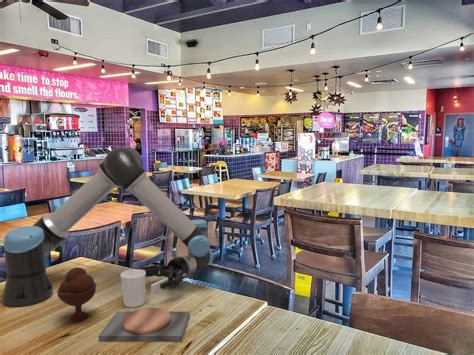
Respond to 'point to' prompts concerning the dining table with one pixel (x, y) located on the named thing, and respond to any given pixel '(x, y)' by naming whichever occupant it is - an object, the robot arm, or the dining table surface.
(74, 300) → the ice cream bowl
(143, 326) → the serving stand
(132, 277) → the white cup
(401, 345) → the dining table surface
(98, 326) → the dining table surface
